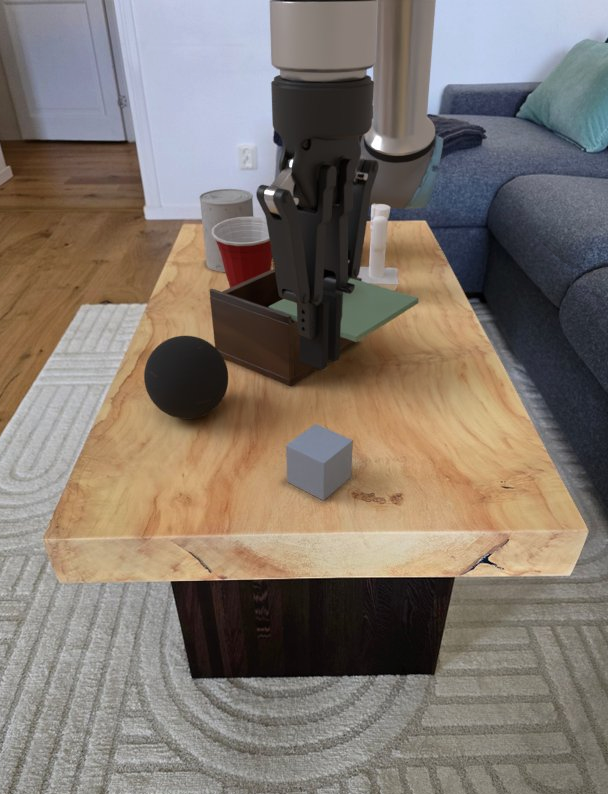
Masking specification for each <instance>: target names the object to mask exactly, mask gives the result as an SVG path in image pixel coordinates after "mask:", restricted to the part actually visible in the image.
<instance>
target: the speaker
mask: <svg viewBox="0 0 608 794" xmlns="http://www.w3.org/2000/svg"><path fill="white" fill-rule="evenodd" d="M143 381H144V386H145V390H146V393H147V395H148V398H150V400H151V401H152V403H153V405H154V406H156V407H157V408H158V409H159V410H160V411H161V412H163V413H164V414H166V415H168V416H171V417H173V418H177V419H181V420H194V419H198V418H201V417H204V416H206V415H208V414H209V413H211V412H213V411H214V410H215V409H216V408H217V407H218V406H220V404H221V403H222V401H223V400H224V398H225V396H226V393H227V390H228V387H229V371H228V365H227V363H226V361H225V359H224V358H223V357H222V355H221V354H220V352H219V351H218V350H217V349H216V348H215V345H213V344H212V343H210V342H208V340H206V339H203V338H200V337H197V336H194V335H178V336H177V335H176V336H174V337H171V338H168V339H166V340H164V341H162V342H161V343H160V344H158V345H157V346H156V347H155V348H154V349H153V350H152V351H151V353H150V355H149V357H148V358H147V361H146V363H145V366H144V372H143Z"/></svg>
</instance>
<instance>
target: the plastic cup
mask: <svg viewBox="0 0 608 794" xmlns="http://www.w3.org/2000/svg"><path fill="white" fill-rule="evenodd" d="M212 236H213V237H214V238H215V240H216V242H217V245H218V247H219V251H220V253H221V257H222V261H223V264H224V268H225V272H224V273H225V276H226V280H227V282H228V285H229V288H231V287H233V286H236V285H238V284H240V283H242V282H245V281H247V280H249V279H251V278H254V277H256V276H258V275H260V274H263V273H265V272H267V271H269V270H272V263H273V257H272V251H271V245H270V239H269V233H268V227H267V221H266V217H258V216H253V217H237V218H232V219H227V220H225V221H222V222H220V223H218V224H217V225H215V226H214V227H213V228H212Z"/></svg>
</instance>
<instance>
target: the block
mask: <svg viewBox="0 0 608 794" xmlns="http://www.w3.org/2000/svg"><path fill="white" fill-rule="evenodd" d="M353 447H354V440H353V439H351V438H349V437H347V436H344V435H342V434H340V433H338V432H335V431H333V430H331V429H328V428H326V427H324V426H322V425H319V424H317V423H315V424H313V425H311V426H310V427H309V428H308V429H306V430H305V431H303V432H302V433H300V434H299V435H298V436H296V437H295V438H294V439H292V440H291V441H289V442H288V443H287V444H286V445H285V453H286V454H285V455H286V456H285V457H286V482H287V483H289V484H290V485H293V486H294V487H296V488H299V489H300V490H302V491H304V492H306V493H308V494H310V495H312V496H314V497H315V498H317V499H319V500H321V501H325V500H326V499H328V498H329V497H330V496H331V495H333V494H334V492H336V491H338V489H339V488H340V487H342V486H343V485H344V484H345V483H347V481H348V480H350V479H351V478H352V470H353V451H354V450H353V449H354V448H353Z"/></svg>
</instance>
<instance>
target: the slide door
mask: <svg viewBox="0 0 608 794" xmlns="http://www.w3.org/2000/svg"><path fill="white" fill-rule="evenodd" d="M348 283H351V284H354V285H355V288H354V290H353V292H352V293H351V294H348V293H345V292H343V305H342V306H343V309H342V319H341V331H340V337H343V338H345V339H348V340H351V341H354V342H358V341H359V342H360V341H361V340H362V339H364V338H366V337H367V336H369V335H370V334H373V332H375V331H377V330H379V329H380V328H381V327H383V326H385V325H386V324H388V323H389V322H391V321H393V320H394V319H396V318H397V317H399V316H400V315H402V314H404V313H405V312H408V311H409V310H410V309H412V308H413V307H415V306H417V305H418V304H419V301H420V298H419V297H418V296H414V295H411V294H407V293H404V292H400V291H396V290H390V289H387V288H383V287H380V286H376V285H373V284H369V283H366V282H362V281H359V280H355V279H352V278H350V279H349V280H348ZM269 308H270V309H273V310H276V311H279V312H282V313H284V314H287V315H290V316H291V320H294V321H297V303H295V302H292V301H289V300H286V299H282V300H280V301H278V302H276V303H274V304H272V305H270V306H269Z"/></svg>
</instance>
